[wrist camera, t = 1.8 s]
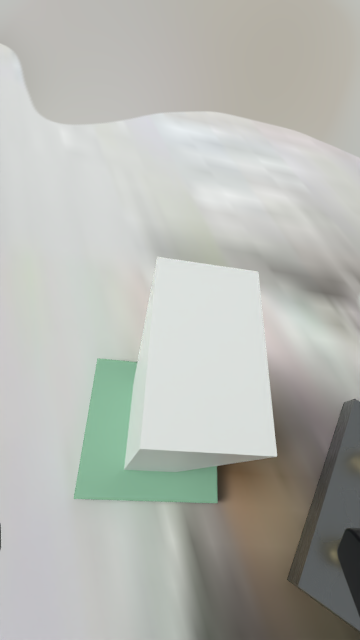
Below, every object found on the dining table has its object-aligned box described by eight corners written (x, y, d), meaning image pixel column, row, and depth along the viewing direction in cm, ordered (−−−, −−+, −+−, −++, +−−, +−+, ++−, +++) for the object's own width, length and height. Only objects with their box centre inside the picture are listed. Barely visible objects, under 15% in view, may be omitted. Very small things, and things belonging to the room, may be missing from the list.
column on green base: (212, 502, 19) (397, 541, 6) (75, 497, 17) (-16, 536, 5) (211, 374, 22) (326, 245, 10) (98, 363, 21) (75, 203, 9)
